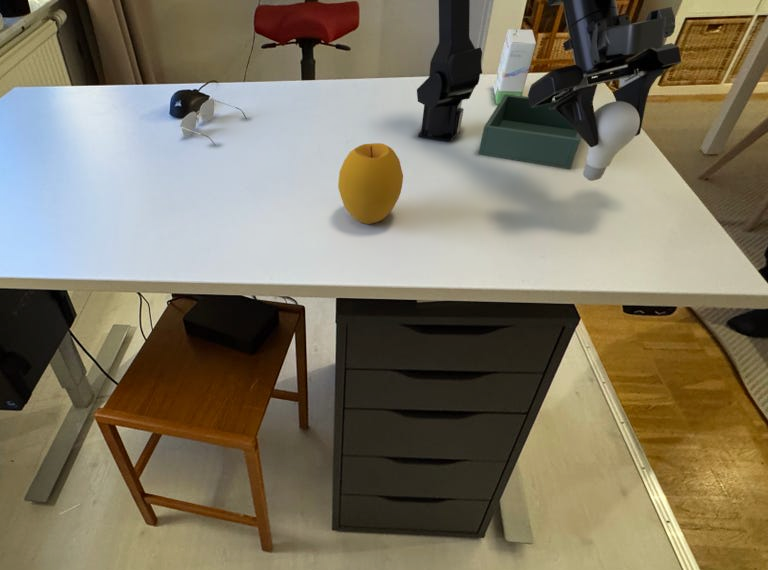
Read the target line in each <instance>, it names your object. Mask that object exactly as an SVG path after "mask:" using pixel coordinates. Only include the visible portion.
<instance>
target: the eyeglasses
mask: <svg viewBox="0 0 768 570" xmlns="http://www.w3.org/2000/svg"><path fill="white" fill-rule="evenodd" d="M215 102H217V103H220V104H223V105H225V106H229V107H232V108H234V109H236V110H239V111H241V112H242V114H243V117H244V118H245V119H246V120H247V119H248V118H247V117H246V115H245V112H244V111H243V109H241V108H239V107H236V106H233V105H231V104H228V103H225V102H222V101H219V100H217V99H214V98H209V99H208V100H206V101H205V102H203V103H202V104H201V106H200V107H199V110H198V111H197V112H195V111H191V112H190V113H188V114H187V115H185V116H184V117H183V118H182V119H181V121H180V124H179V128H180V129H181V132H182V135H183V137H185V138H186V137H189V136H190V135H191V134H193V133H195V134H198V135H201V136H204V137H206V138H208V139H209V140H210V141H211V143H212V144H213V146H216V144H215V142H214V141H213V140H212V138H211V137H209V136H208V135H206V134H203V133H199V132H197V131H195V130H196V128H197V124H199V121H200V118H201V120H202V122H203V123H207V122H208V121H210V120H211V119H212V118H213V116H214V115H215V114H214V113H215ZM198 113H199V114H200V117H199V116H198V115H197V114H198Z"/></svg>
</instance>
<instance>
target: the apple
mask: <svg viewBox="0 0 768 570" xmlns="http://www.w3.org/2000/svg"><path fill="white" fill-rule="evenodd" d="M403 182H404V174H403V169H402V166H401V161H400V158H399V157H398V155H397V154H396V152H395V151H394V150H393V148H392V147H390V146H389V145H387V144H385V143H381V142H379V143H376V142H375V143H364V144H361V145H358V146H356V147H355V148H354V149H352V150H351V151H350V152H349V153H348V155H347V156H346V157H345V158H344V160H343V162H342V165H341V167H340V169H339V175H338V184H337V185H338V187H337V188H338V191H339V195H340V199H341V201H342V203H343V206H344V208H345V209H346V210H347V212H348V213H349V215H350V216H351V217H352V218H353V219H354V220H355V221H357V222H359V223H361V224H365V225H366V224H367V225H370V224H375V223H378V222H380V221H382V220H384V219H385V218H387V216H389V214H390V213H391V212H392V210H393V209H394V207H395V206H396V204H397V202H398V200H399V198H400V195H401V193H402V188H403V184H404V183H403Z"/></svg>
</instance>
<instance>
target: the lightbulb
mask: <svg viewBox="0 0 768 570" xmlns="http://www.w3.org/2000/svg"><path fill="white" fill-rule="evenodd" d="M594 113H595V119H596V125H597V131H598V145H597V146H594V147H590V146H589V145H588V150H587V155H586V158H585V163H586V164H585V166H584V168H583V172H582V175H583V177H584V178H585V179H586V180H588V181H591V182H593V181H597V180H600V179H601V178H602V177H603V175H604V174H605V171H606V169H607V167H609V166H610V165H611V163H612V161H613V159H614V158H615V156H616V155H617V154H618V153H619V152H620V151H621V150H622V149H624V148H625V147H626V146H627V145H629V143H630V142H632V141H633V139H635V137H636V136H635V135H636V134H637V131H638V129H639V125H640V118H639V114H638V112H637V110H636V109H635V108H634V107H633V106H632V105H631V104H629V103H626V102H622V101H616V100H615V101H611V102H608V103H605V104H603V105H602V106H600V107H598V109H596V110H594Z"/></svg>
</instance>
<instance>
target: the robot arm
mask: <svg viewBox="0 0 768 570" xmlns="http://www.w3.org/2000/svg"><path fill="white" fill-rule="evenodd" d="M546 4H547V6H548V7H549V6H559V5H562V7H563V13H564V18H565V24H566V29H567V33H568V37H569V38H567V40H565V41H564V42H563V44H562V45H563V49H564V52H566V51H571V53H572V59H573V63H574V64H572V65H568V66H563V67H559V68H554V69H551V70H550V71H549V72H547V73H546V74H544V75H542V77H540V78H539V79H537V80H536V81H535V82H533V83H531V85H530V87H529V90H528V94H527V97H528V98H529V103H530V107H531V108H534V107H538V106H543V105H547V104H549V103H551V101H552V100H555V103H553V104H552V105H550V106H549V109H550V110H556V111H557V112H558V113H559V114H560V115H561V116H562V117H563V118H564V119H565V120H566V121H567V122H568V123H570V125H571V126H572V127H573V128H574V129H575V130H576V131H577V132H578V134H579V135H580V136H581V137H582V138H581V139H582V140H583V141H584V142H585V143H586V144H587V146H588V147H589V146H590V147H594V146H597V145H598V131H597V125H596V119H595V113H594V112H595V109H594V99H595V95H596V92H597V87H598V85H599V84H604V83H609V82H613V81H617V80H618V83H619V88H617V89H616V90H614V91H612V94H613V97H614V99H615V102H616V101H622V102H626V103H629V104H631V105H632V106H633V107H634V108H635V109H636V110H637V112H638V114H639V118H640V125H639V129H638V131H637V134H636V135H635V137H637V136H639V135H640V134H641V131H642V126H643V120H644V117H645V116H644V115H645V110H646V106H647V101H648V97H649V95H650V94H649V93H650V90H651V88H652V86H653V85H654V84H655V82H656V80H657V79H658V78H659V77H661V76H663V75H664V73H665V72H666V71H668V70H670V69H671V68H674V67H675V66H678V65H680V64H681V63H682V58H681V52H680V51H681V50H680V47H679V46H678V45H676V44H674V43H672V42H670V43H666V44H664V42H665V40H664V39H665V38H669V37H671V36H672V35H673V34H674V33H675V29H676V18H675V14H674V11H673V7H672V6H669V7H665V8H660V9H655V10H651V11H649V12H648V14H647V16H646V19H645V20H643V21H638V22H633V23H631V17H630V16H629V15H628V13H622V14H619V9H618V5H617V0H547V3H546ZM470 8H471V0H438V44H437V46H436V48H435V51H434V53H433V55H432V57H431V60H430V64H429V75H428V78H426V79H425V80H424V81H423V82H422V84H420V85H419V86H418V88H416V96H417V102H418V103H420V104H422V105H423V111H422V120H421V127H420V129H421V130H419V131H418V133H417V137H418V138H423V139H428V140H429V139H430V140H435V141H441V142H448V143H449V142H452V141H453V139H454V137H456V136H457V135H458V133H459V132H460V130H461V127H462V123H463V116H464V111H465V110H464V108H463V107H462V102H463V101H464V100H470V99H471V96H472V94H473V92H474V90H475V88H476V87H477V86H478V85H479V82H480V77H481V75H482V74H483V68H482V58H483V51H482V48H481V47H477V48H476V47H475V45H474V43H473V41H472V40H471V37H470V36H471V35H470V22H471V21H470V20H471V19H470V16H471V15H470V12H471V11H470ZM630 58H631V59H630ZM628 59H629V60H628Z"/></svg>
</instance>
